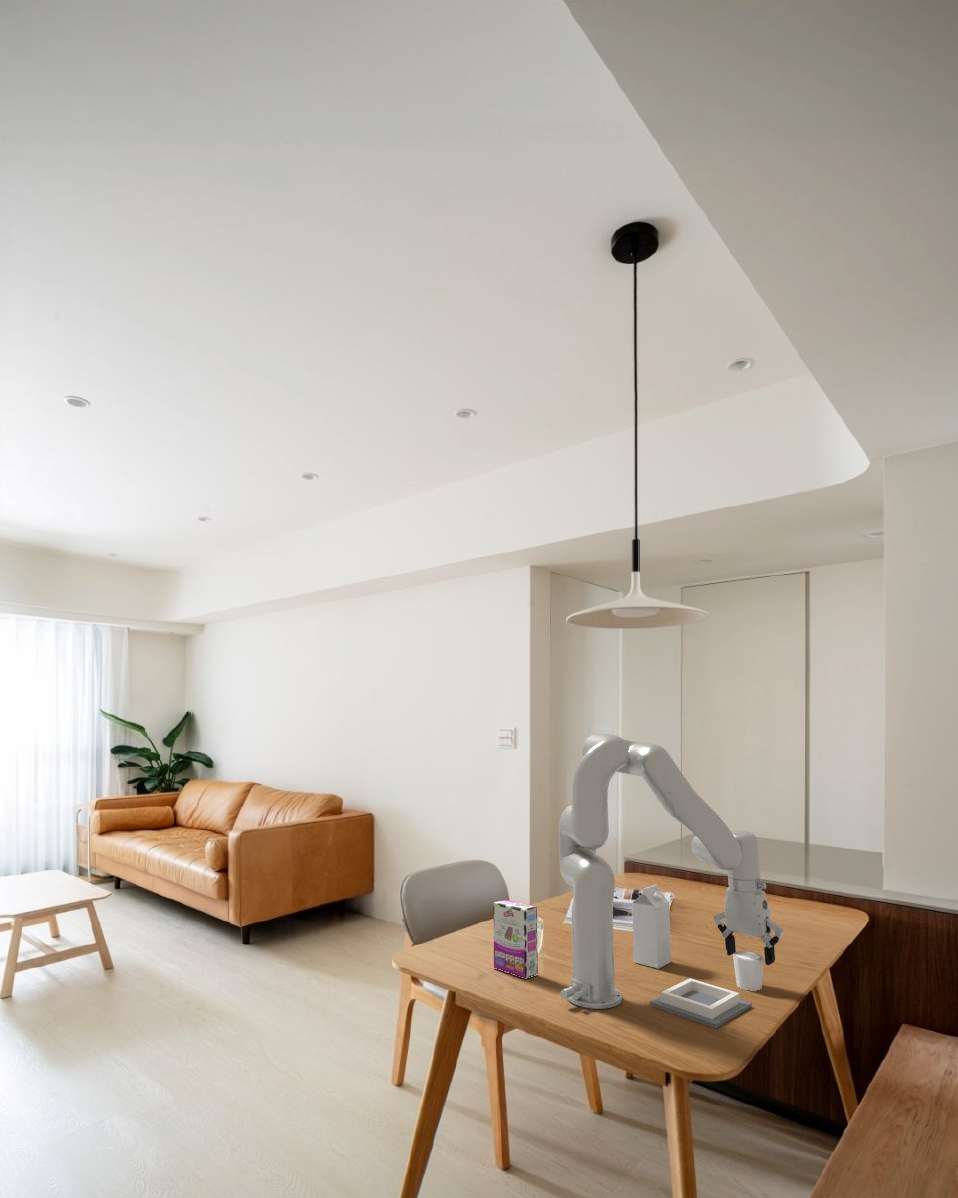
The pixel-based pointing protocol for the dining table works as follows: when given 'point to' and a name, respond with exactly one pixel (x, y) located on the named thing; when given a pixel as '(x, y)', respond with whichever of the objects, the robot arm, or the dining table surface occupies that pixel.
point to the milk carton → (651, 929)
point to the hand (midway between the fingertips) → (750, 958)
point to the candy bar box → (515, 938)
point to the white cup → (748, 970)
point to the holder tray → (701, 1002)
